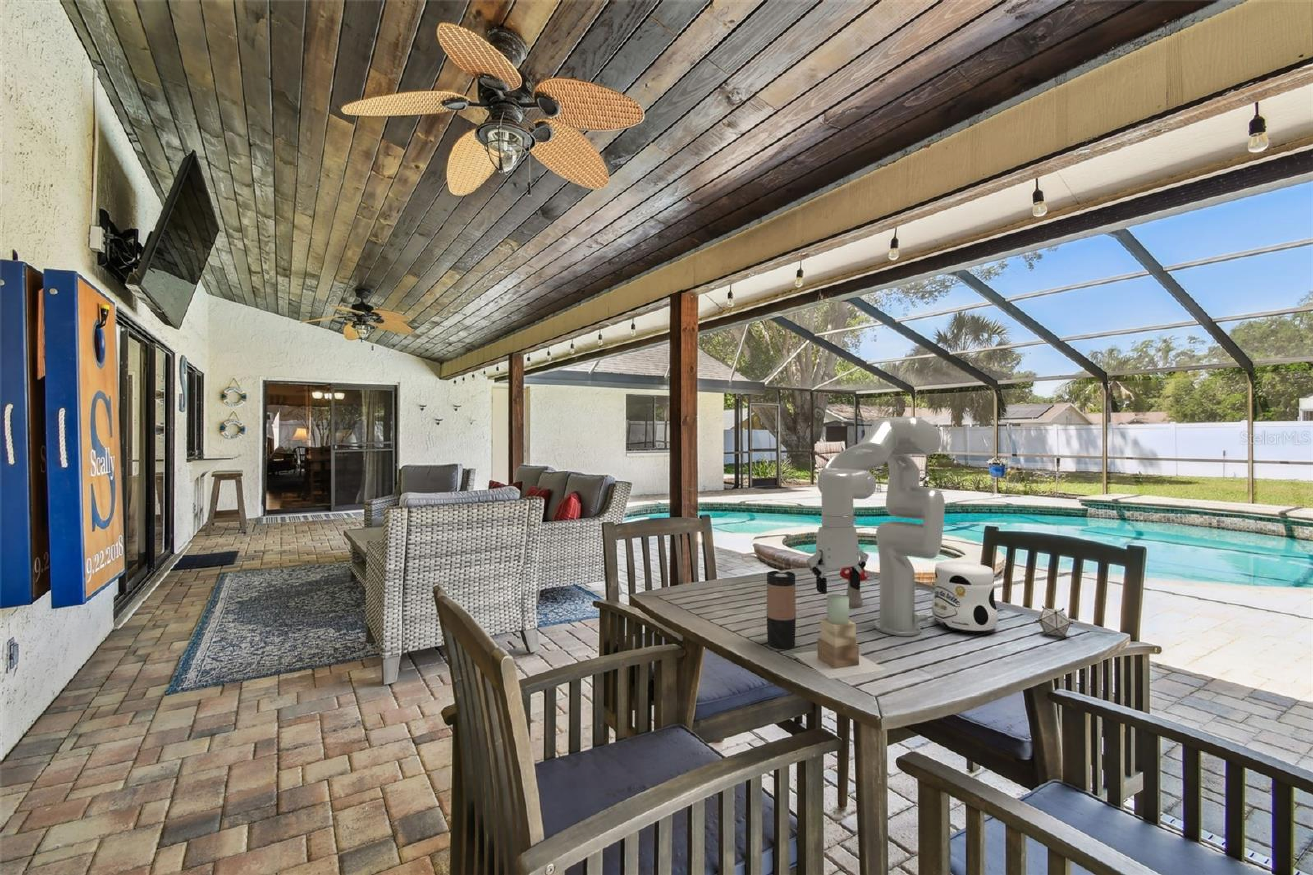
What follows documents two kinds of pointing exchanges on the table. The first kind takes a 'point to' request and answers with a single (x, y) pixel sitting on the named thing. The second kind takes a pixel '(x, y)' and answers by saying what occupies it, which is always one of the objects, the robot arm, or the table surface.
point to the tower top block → (837, 633)
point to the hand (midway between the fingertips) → (838, 590)
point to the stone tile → (832, 673)
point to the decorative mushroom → (851, 592)
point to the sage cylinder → (838, 609)
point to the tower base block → (838, 654)
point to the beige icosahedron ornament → (1054, 622)
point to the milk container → (964, 597)
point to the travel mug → (781, 610)
